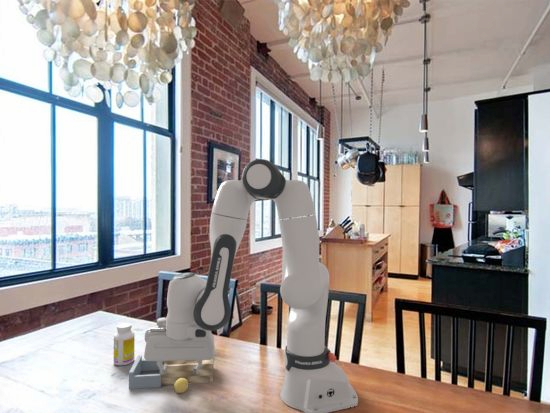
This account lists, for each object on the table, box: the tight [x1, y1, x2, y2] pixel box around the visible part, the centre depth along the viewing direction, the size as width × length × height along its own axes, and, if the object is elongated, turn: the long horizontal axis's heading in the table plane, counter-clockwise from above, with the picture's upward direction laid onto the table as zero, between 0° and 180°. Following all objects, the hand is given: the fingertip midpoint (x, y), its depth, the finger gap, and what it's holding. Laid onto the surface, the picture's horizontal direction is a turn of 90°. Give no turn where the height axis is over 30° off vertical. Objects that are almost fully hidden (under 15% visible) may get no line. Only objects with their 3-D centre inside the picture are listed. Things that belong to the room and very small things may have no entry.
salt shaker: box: [156, 317, 166, 328], centre depth 124 cm, size 6×6×13 cm
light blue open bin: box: [128, 355, 165, 390], centre depth 106 cm, size 9×11×5 cm
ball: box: [173, 378, 189, 394], centre depth 99 cm, size 4×4×4 cm
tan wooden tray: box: [159, 357, 215, 386], centre depth 108 cm, size 16×10×6 cm, turn 99°
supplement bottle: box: [113, 322, 135, 366], centre depth 117 cm, size 7×7×13 cm
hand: (179, 373), depth 100 cm, fingers open, 8 cm apart
